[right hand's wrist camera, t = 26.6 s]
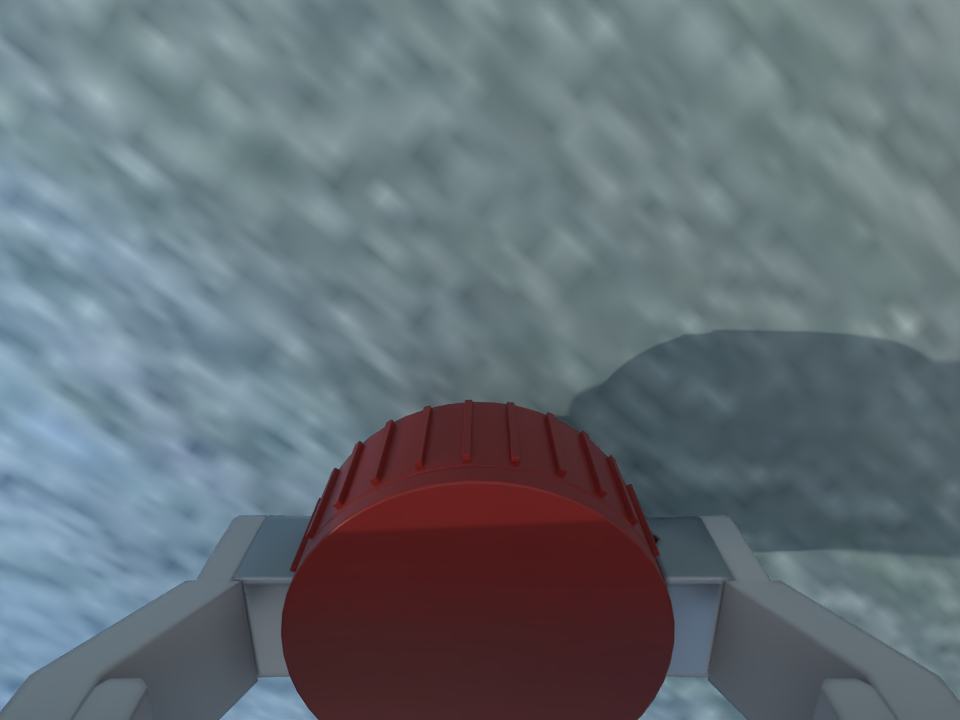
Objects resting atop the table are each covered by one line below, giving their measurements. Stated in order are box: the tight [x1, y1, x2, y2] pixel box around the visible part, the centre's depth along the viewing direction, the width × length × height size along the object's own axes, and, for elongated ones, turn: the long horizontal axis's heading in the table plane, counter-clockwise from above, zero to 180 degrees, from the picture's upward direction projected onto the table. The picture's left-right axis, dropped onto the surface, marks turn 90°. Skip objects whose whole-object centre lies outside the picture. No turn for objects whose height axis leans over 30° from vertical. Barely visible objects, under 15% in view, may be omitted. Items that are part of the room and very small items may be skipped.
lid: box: [281, 400, 675, 720], centre depth 9 cm, size 5×5×2 cm
